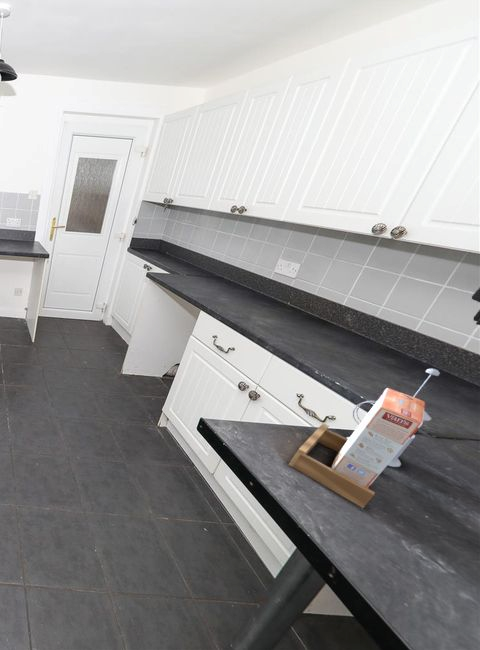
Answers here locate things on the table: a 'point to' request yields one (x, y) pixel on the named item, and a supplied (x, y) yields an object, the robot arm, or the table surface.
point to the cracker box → (379, 437)
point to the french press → (426, 417)
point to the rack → (325, 473)
